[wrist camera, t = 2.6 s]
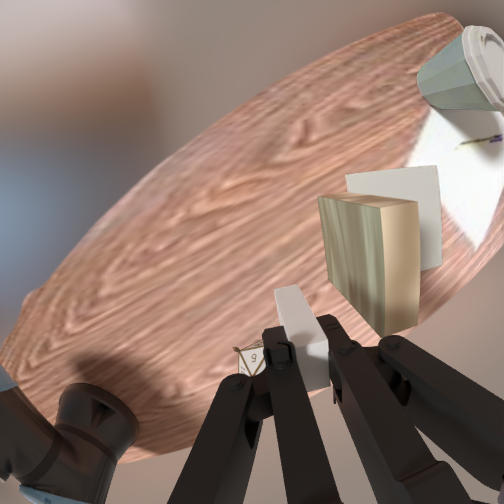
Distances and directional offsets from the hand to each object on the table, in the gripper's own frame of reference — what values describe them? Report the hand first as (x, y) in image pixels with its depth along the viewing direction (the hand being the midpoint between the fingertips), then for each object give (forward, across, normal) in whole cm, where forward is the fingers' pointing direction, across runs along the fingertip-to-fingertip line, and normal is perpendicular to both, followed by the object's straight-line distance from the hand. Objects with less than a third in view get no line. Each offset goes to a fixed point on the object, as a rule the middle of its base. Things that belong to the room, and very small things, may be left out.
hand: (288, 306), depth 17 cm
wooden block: (+15, +8, 0) cm, 17 cm away
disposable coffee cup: (+15, +28, +18) cm, 36 cm away
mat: (+15, +18, 0) cm, 23 cm away
